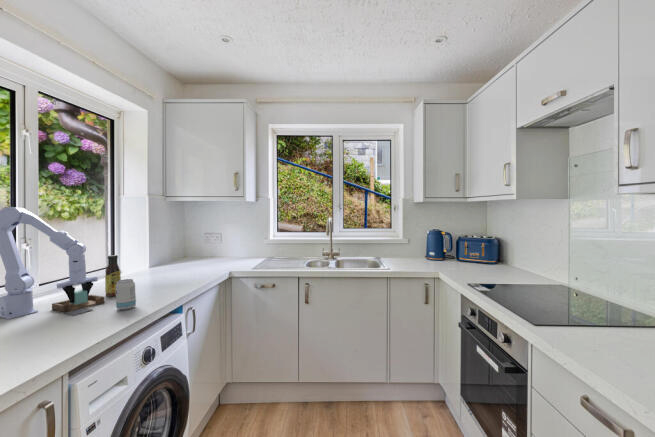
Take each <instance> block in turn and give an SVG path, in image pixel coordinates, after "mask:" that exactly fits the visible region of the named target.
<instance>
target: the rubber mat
mask: <svg viewBox="0 0 655 437" xmlns="http://www.w3.org/2000/svg"><path fill="white" fill-rule="evenodd" d="M92 311H93V312H94V309H92V308H89V307H86V308H80V309H76V310H73V311H69V312H65V313H63V314H65V315H69V316H74V317H75V316H78V315H82V314H86V313H89V312H92Z"/></svg>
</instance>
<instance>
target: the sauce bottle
mask: <svg viewBox="0 0 655 437" xmlns="http://www.w3.org/2000/svg"><path fill="white" fill-rule="evenodd" d="M118 258H119V256H118V254H114V255H111V254H110V255H107V260H108V261H107V262H108V265H107V267H106V269H105V276H104V278H105V282H104V283H105V284H104V285H105V288H104V289H105V293H104V294H105V297H116V284H117V281H120V280H122V279H121V278H122V277H121V275H122V274H121V269H120V267H119V264H118Z"/></svg>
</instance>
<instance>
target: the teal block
mask: <svg viewBox="0 0 655 437" xmlns="http://www.w3.org/2000/svg"><path fill="white" fill-rule="evenodd" d="M85 302H88V297H87V291H86V290H82V289H79V290H75V292H74V303H70V304H74V305H77V304H81V303H85Z"/></svg>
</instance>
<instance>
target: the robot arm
mask: <svg viewBox="0 0 655 437" xmlns="http://www.w3.org/2000/svg"><path fill="white" fill-rule="evenodd" d="M19 224H20V225H21V224H24V225H30V226H32V227H34V229H37V230H38V231H40V232H42V234H44V235H46V236H48V237H49V241H50V242H51V243H53V244H54V245H56V246H57V247H59V248H60V249H62V251H65V253H66V255H67V256H68V276H69V279H68V280H67V281H63V282H59V283H56V289H60V290H61V289H62V290H63V291H64V293H65V295H66V296H67V298H68V300H69V301H70V303H74V292H75V291H76V287H74V286H78V285H81V290H86V291H87V297H88V295H90V292H91V289H92V287H94V282H95V283H96V282H98V276H91V277H87V271H86V270H87V268H86V267H87V266H86V255H85V252H86V251H87V246H86V245H85V244H84V242H81V241H80V242H79V240H78V239H75V238H73V237H72V236H71V235H69V232H67V231H64V230H56V229H55V228H53V227H52V226H51V225H50V224H48V223H47V222H46V221H44V220H43V219H41V218H40V217H38V215H36V214H34V212H31V211H28V210H27V209H26V208H24V207H20V206H16V207H15V206H5V207H3V208H1V209H0V258H1V261H2V263H3V265H4V269H5V276H4V280H5V284H4V290H5V291H6V292H7V294H6V295H1V296H0V318H2V317H3V319H6V320H10V319H14V318H18V317H23V316H25V315H31V314H34V313H38V312H39V310H37V309H34V296H33V295H34V293H33V292H34V290H33V288H32V286H34V283H35V279H34V277H33V276H32V275H31V274H30V273H29V270H27V269H26V268H25V266H24V264H23V260H22V258H21V255H20V252H19V249H18V246H17V243H16V240H15V237H14V235H13V231H14V230H15V228H16V227H17V226H18V225H19Z"/></svg>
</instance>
